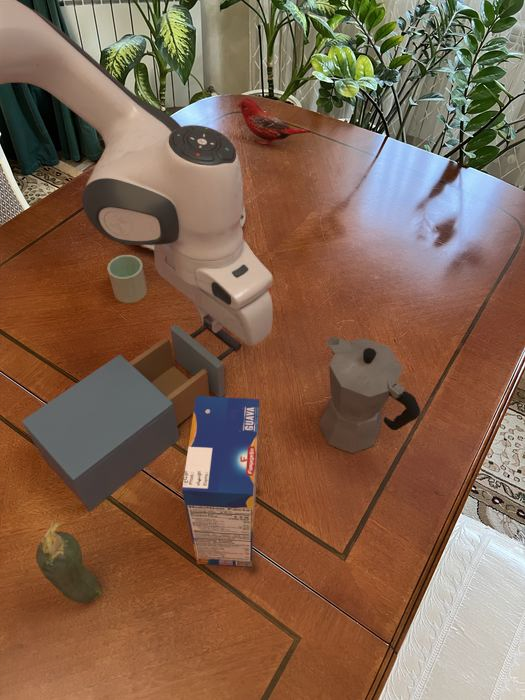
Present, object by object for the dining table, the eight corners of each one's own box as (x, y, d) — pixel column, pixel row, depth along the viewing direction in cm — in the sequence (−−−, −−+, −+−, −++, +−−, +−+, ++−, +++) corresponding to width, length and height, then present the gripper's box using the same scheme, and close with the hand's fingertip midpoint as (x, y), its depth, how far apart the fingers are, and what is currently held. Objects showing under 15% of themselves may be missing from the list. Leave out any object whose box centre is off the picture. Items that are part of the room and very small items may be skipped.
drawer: (205, 338, 94) (202, 305, 88) (249, 374, 90) (250, 343, 83) (106, 409, 85) (95, 379, 79) (150, 454, 80) (142, 425, 74)
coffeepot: (295, 416, 86) (305, 340, 72) (337, 382, 90) (355, 304, 76) (374, 487, 79) (402, 418, 65) (416, 446, 83) (451, 373, 69)
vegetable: (72, 617, 68) (20, 561, 52) (65, 582, 70) (13, 519, 55) (109, 601, 69) (69, 543, 53) (100, 568, 72) (59, 502, 56)
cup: (107, 291, 101) (100, 266, 96) (133, 275, 104) (128, 250, 99) (127, 308, 99) (121, 283, 94) (153, 291, 101) (149, 266, 97)
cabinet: (130, 392, 88) (119, 353, 80) (179, 439, 83) (173, 403, 76) (41, 456, 81) (20, 421, 73) (89, 512, 76) (72, 480, 69)
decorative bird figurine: (239, 134, 133) (239, 92, 125) (311, 153, 129) (315, 111, 121) (234, 140, 132) (233, 99, 124) (306, 159, 128) (310, 117, 120)
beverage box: (197, 565, 72) (182, 490, 55) (206, 484, 79) (196, 395, 62) (251, 568, 72) (253, 494, 55) (256, 486, 79) (259, 398, 62)
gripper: (137, 226, 75) (150, 298, 86) (246, 309, 67) (245, 378, 78) (174, 206, 78) (182, 278, 89) (283, 282, 70) (277, 352, 81)
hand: (212, 325), depth 83 cm, fingers closed
